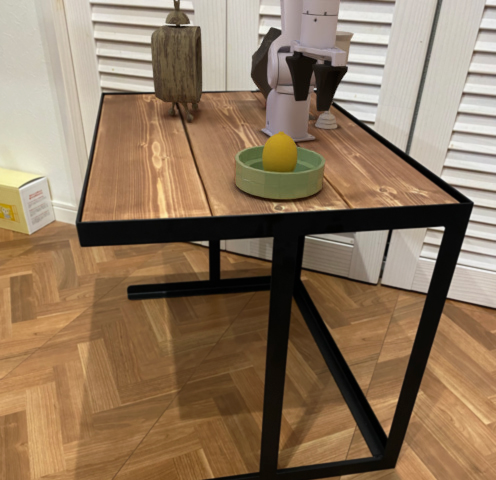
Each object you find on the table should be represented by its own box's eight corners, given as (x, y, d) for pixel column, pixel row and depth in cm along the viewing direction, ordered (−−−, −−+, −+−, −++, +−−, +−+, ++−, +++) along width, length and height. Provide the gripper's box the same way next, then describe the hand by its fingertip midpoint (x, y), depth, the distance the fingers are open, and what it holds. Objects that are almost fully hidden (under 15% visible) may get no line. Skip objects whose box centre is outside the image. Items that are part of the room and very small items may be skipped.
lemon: (274, 174, 86) (277, 124, 81) (301, 182, 83) (306, 131, 78) (254, 182, 82) (256, 131, 78) (281, 191, 80) (285, 138, 75)
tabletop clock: (197, 125, 111) (192, -13, 96) (155, 123, 111) (145, -15, 96) (203, 109, 123) (200, -17, 108) (165, 107, 123) (157, -18, 108)
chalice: (340, 131, 110) (353, 36, 99) (309, 128, 111) (318, 34, 100) (342, 122, 116) (354, 31, 105) (312, 120, 117) (321, 30, 106)
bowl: (221, 176, 86) (221, 149, 83) (295, 167, 91) (297, 141, 88) (257, 208, 75) (259, 178, 73) (338, 195, 80) (342, 167, 78)
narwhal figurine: (301, 103, 130) (308, 21, 119) (315, 119, 118) (325, 29, 107) (245, 103, 128) (247, 20, 117) (255, 119, 116) (258, 28, 105)
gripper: (276, 9, 84) (272, 97, 92) (322, 19, 74) (312, 117, 82) (313, 9, 87) (305, 95, 95) (362, 18, 76) (349, 114, 84)
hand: (311, 105), depth 89 cm, fingers open, 7 cm apart
